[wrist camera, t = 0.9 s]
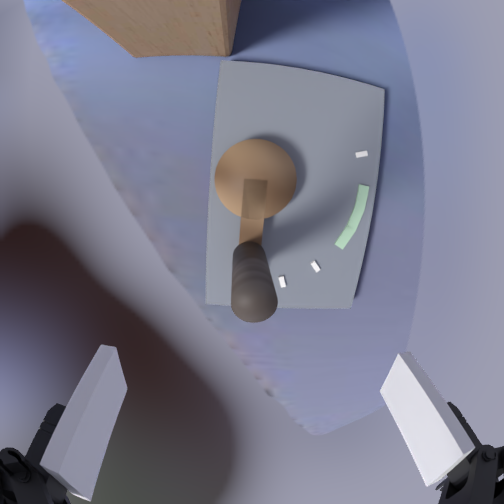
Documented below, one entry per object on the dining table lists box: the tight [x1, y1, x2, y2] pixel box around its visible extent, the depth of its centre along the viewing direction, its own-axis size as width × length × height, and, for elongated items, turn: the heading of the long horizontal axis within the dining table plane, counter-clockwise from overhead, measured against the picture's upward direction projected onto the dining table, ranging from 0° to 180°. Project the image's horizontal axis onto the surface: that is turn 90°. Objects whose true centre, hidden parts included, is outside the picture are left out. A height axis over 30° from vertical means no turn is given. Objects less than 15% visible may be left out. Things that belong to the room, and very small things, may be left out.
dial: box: [215, 139, 297, 323], centre depth 21 cm, size 15×7×9 cm, turn 175°
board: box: [206, 60, 385, 309], centre depth 25 cm, size 24×16×2 cm, turn 175°
